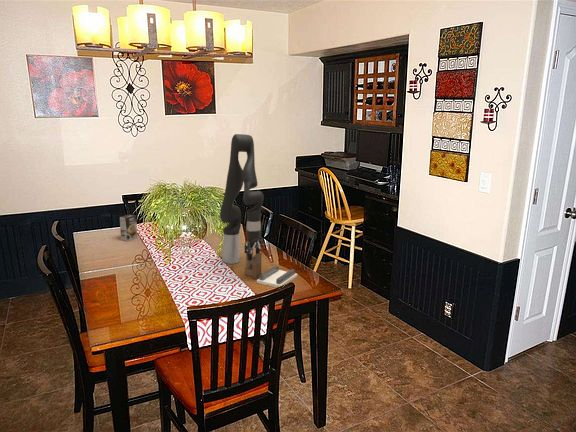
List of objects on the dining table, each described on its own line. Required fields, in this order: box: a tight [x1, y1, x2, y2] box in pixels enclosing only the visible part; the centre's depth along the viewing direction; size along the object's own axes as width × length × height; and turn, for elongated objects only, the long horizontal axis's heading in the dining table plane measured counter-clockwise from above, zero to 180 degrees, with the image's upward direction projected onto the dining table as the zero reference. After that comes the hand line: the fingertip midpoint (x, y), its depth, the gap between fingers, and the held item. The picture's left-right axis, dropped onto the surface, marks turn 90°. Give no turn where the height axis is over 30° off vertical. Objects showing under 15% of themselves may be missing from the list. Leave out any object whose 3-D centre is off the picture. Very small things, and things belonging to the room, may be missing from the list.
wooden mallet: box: [244, 247, 263, 280], centre depth 234 cm, size 4×11×18 cm, turn 39°
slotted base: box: [256, 265, 298, 288], centre depth 231 cm, size 14×19×4 cm
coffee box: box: [119, 214, 138, 242], centre depth 294 cm, size 9×6×16 cm
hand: (253, 258), depth 234 cm, fingers open, 8 cm apart
